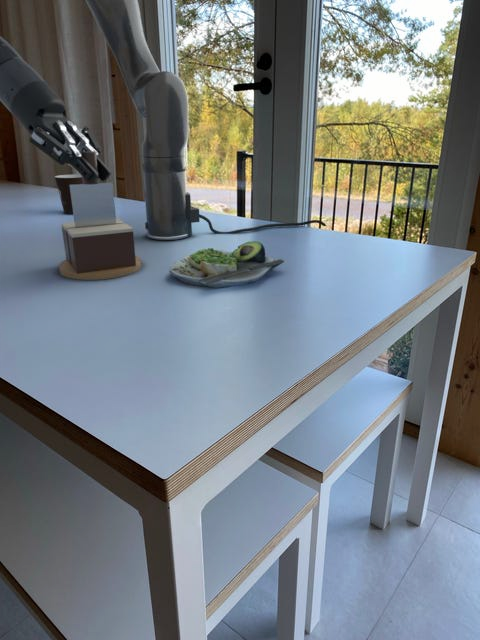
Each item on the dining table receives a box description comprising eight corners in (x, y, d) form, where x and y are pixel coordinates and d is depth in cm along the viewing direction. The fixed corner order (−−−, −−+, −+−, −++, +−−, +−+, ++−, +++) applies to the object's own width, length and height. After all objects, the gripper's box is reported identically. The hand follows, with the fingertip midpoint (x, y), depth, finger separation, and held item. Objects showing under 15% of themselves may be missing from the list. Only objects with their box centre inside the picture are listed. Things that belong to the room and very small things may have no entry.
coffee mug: (86, 215, 131) (81, 177, 127) (55, 215, 131) (49, 177, 127) (98, 208, 142) (94, 173, 138) (69, 208, 142) (65, 173, 138)
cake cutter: (114, 222, 84) (107, 150, 80) (118, 224, 82) (111, 151, 78) (73, 225, 81) (63, 152, 77) (76, 228, 79) (66, 152, 75)
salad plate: (252, 301, 69) (252, 270, 68) (147, 286, 75) (144, 258, 74) (289, 266, 86) (290, 241, 84) (200, 256, 92) (200, 232, 90)
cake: (128, 254, 94) (124, 215, 91) (151, 272, 82) (148, 229, 79) (53, 263, 87) (47, 222, 84) (67, 284, 76) (60, 238, 73)
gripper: (5, 75, 69) (87, 165, 70) (67, 82, 81) (136, 159, 82) (-16, 115, 73) (62, 200, 74) (47, 115, 85) (112, 188, 86)
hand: (101, 178), depth 78 cm, fingers open, 3 cm apart
